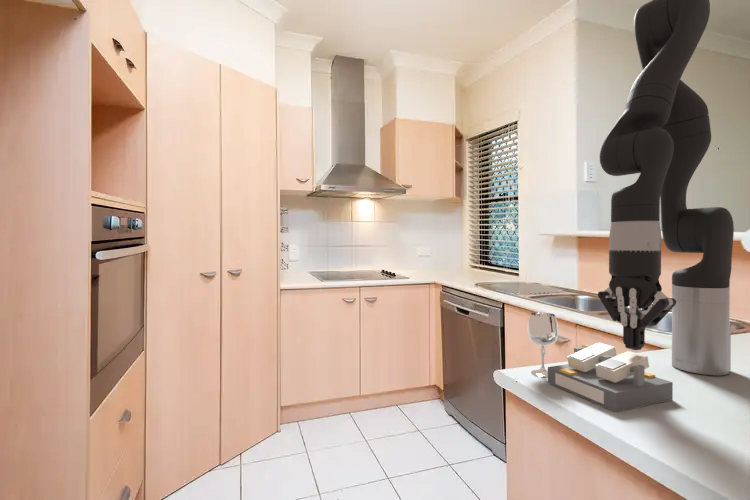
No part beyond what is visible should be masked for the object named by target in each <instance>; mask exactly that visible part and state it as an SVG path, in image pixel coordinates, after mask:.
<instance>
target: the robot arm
mask: <svg viewBox="0 0 750 500" xmlns="http://www.w3.org/2000/svg"><path fill="white" fill-rule="evenodd" d="M710 14H711V3H710V0H650V1H648V2H647V3H644V4H642V5H641V6H640V7H638V8H637V10H636V12H635V14H634V18H633V32H634V39H635V42H636V48H637V52H638V56H639V60H640V61H639V62H640V64H641V69H642V70H641V72H640V73H639V74H638V76H637V77H636V78H635V80H634V82H633V83H632V86H631V88H630V91H629V94H628V97H627V99H626V103H625V107H624V110H623V113H621V114H622V115H621V116H620V117H619V118H618V119H617V121H616V122H615V124H614V126H613V127H612V129H611V130H610V131H609V133H608V134H607V136H606V137H605V138H604V141H603V143H602V145H601V148H600V150H599V151H600V152H599V164H600V166H601V169H602V170H603V172H604V173H606V174H607V175H609V176H612V177H613V176H614V177H619V176H627V175H628V176H629V175H635V174H636V175H637V174H639V176H638V177H637V180H635V182H634V183H633V184H630V185H628V186H625V187H621V188H619V189H617V190H615V191H614V192H613V193H612V195H611V198H610V199H611V200H610V229H609V234H608V235H609V237H608V274H609V275H610V277H611V278H610V281H609V283H608V287H607V288H606V289H605V290H602V291H600V290H599V291H598V292H597V296H598V298H599V299H600V302H601V303H602V305H603V306H604V308H605V310H606V312H607V313H608V315H609V316H610V317H611V319H612V321H614V322H618V323H620V324H621V326H622V328H623V332H622V338H623V339H622V342H623V344H624V346H625V347H624V348H625V349H628V350H631V351H632V350H633V351H640V350H642V349H643V347H645V343H646V341H645V339H646V336H645V331H646V328H649V327H655V326H657V325H658V324H659V323H660V322H661V321H662V319H664V318H665V316H666V315H667V314H668V313H669V312H671V365H672V366H673V368H676V369H678V370H681V371H684V372H689V373H693V374H698V375H707V376H727V375H729V374H730V371H731V369H732V368H731V367H732V366H731V365H732V364H731V363H732V362H731V357H732V356H731V355H732V353H731V352H732V350H731V347H732V345H731V343H732V342H731V341H732V340H731V339H732V338H731V337H732V336H731V335H732V333H731V331H732V327H731V323H730V318H731V317H730V316H731V315H730V313H731V312H730V310H731V309H730V307H731V305H730V303H731V302H730V292H731V291H730V282H731V273H732V266H733V265H732V260H733V259H732V257H733V245H734V236H735V235H734V232H735V231H734V230H735V229H734V220H733V216H732V213H731V212H730V211H729V209H727V208H725V207H721V206H713V207H711V206H710V207H701V208H700V207H699V208H688V207H687V191H688V187H689V184H690V181H691V180H692V177H693V175H694V173H695V172H696V171H697V169H698V168H699V165H700V163H701V162H702V160H703V158H704V157H705V155H706V154H707V152H708V149H709V147H710V144H711V142H712V130H711V121H710V115H709V114H710V112H709V107H708V106H707V105H708V104H707V103H706V102H705V100H704V99H703V98H702V97H701V96H700V95H699V94H698V93H697V92H696V91H695V90H693V89H692V88H691V87H690V86H689V85H687V84H686V83H685V82H684V81H683V80H681V79H682V76H683V74H684V71H685V70H686V68H687V65H688V64H689V62H690V61H691V58H692V56H693V54H694V53H695V51H696V49H697V46H698V45H699V42H700V41H701V38H702V37H703V34H704V32H705V31H706V28H707V25H708V22H709V18H710V16H711V15H710ZM660 222H661V225H660ZM662 238H663V242H664V244H665V246H666V248H667V249H668V250H669V251H671V252H673V253H690V254H692V253H693V254H702V258H701V260H700V261H699V262H698V263H695V264H694V265H692V266H689V267H686V268H681V269H679V270H675V271H673V272H672V274H671V298H670V297H668V296H667V295H666V294H665V293H664V292H662V289H663V288H662V285H661V283H660V277H661V275H662ZM652 304H653V306H652V307H651V305H652Z"/></svg>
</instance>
